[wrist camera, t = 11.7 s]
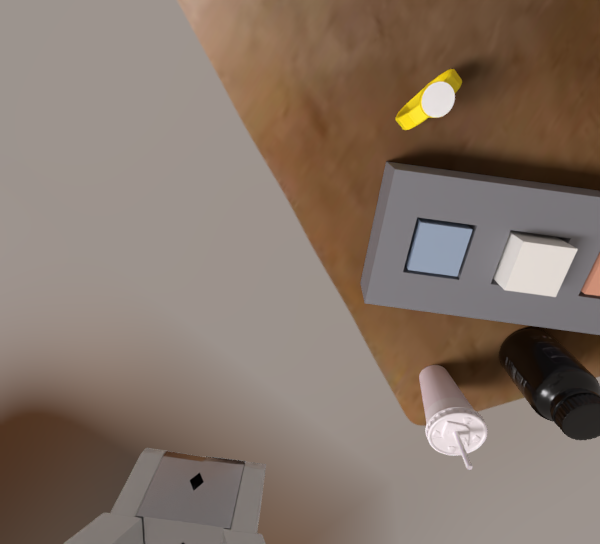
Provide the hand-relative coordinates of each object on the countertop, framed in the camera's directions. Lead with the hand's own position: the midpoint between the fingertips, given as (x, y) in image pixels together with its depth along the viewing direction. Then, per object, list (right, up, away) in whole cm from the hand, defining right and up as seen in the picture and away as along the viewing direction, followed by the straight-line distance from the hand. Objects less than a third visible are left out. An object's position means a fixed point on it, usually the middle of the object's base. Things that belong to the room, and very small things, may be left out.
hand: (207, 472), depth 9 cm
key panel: (+25, +8, +32) cm, 42 cm away
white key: (+25, +7, +30) cm, 40 cm away
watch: (+14, +22, +27) cm, 37 cm away
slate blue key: (+16, +9, +32) cm, 37 cm away
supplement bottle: (+31, -5, +38) cm, 49 cm away
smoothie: (+20, -9, +40) cm, 46 cm away
